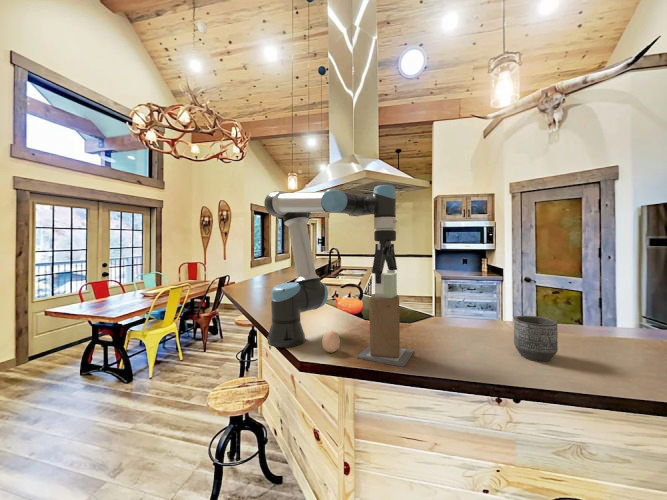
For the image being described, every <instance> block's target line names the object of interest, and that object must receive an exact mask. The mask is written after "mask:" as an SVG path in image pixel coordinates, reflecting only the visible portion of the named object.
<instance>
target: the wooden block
mask: <svg viewBox="0 0 667 500" xmlns="http://www.w3.org/2000/svg"><path fill="white" fill-rule="evenodd" d="M368 301H369V304H368V305H369V313H368V314H369V345H370V354H371V355H372V356H381V357H394V358H397V357H399V355H400V348H401V344H400V343H401V341H400V340H401V337H400V336H401V334H400V333H401V331H400V323H401V322H400V296H399V295H398V294H397V296H395V297H394V298H380V297H375V293H373V294H372V295H371V296H370V298H369V300H368Z"/></svg>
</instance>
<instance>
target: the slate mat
mask: <svg viewBox="0 0 667 500" xmlns="http://www.w3.org/2000/svg"><path fill="white" fill-rule="evenodd" d="M413 354H414V349H409V348H404V347H400V355H399V357H397V358H394V357H381V356H372V355H371V354H370V344H369V345H368V346H366V348H365V349H364V350H362V351H361V352H360V353H359V354H358V355H357V359H359V360H367V361H371V362H375V363H381V364H386V365H391V366H397V367H401V368H405V366H406V365H407V363H408V362H409V360H410V359H411V357H412V355H413Z"/></svg>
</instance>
